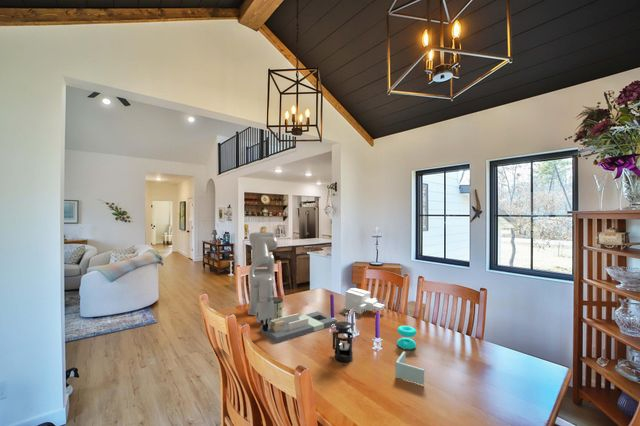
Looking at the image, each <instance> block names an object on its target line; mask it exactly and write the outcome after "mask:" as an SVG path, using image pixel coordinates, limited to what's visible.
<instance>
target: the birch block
mask: <svg viewBox="0 0 640 426" xmlns="http://www.w3.org/2000/svg"><path fill="white" fill-rule="evenodd" d="M269 324H270V329H271V330H273V331H274V332H278V331H281V330H284V321H283V320H281V319H279V318H278V319H274V320H271V321H270V323H269Z"/></svg>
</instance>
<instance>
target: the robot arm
mask: <svg viewBox="0 0 640 426" xmlns="http://www.w3.org/2000/svg"><path fill="white" fill-rule="evenodd" d="M248 241H249V243H250V246H251V266H250V267H249V271H248V272H249V273H248V277H249V289H250V290H249V306H248V307H249V309H248V310H247V314H248V315H250V316H255V318H256V323H258V324H259V323H260V324H261V326H262V329H263V331H265V332H266V331H268V324H270V323H269V322H270V321H271V320H272V319H274V313H275V312H274V302H273V298H274V297H275V295H274V294H273V292H274V291H273V284H274V280H275V279H274V277H275V275H274V273H275V257H274V255H273V254H272V253H270V250H271V251H272V250H276V249H277V248H278V239H277V236H276V235H275V233H274V232H252V233H249V236H248Z"/></svg>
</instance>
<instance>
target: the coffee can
mask: <svg viewBox="0 0 640 426" xmlns="http://www.w3.org/2000/svg"><path fill="white" fill-rule="evenodd" d="M273 302H274V312H275V313H274V319H278V318H279V319H280V318H281V317H283V311H284V310H283V302H284V300H283V298H282V297H278V296H276V297H275V296H274V298H273ZM274 319H272V320H274ZM269 324H270V322H269Z"/></svg>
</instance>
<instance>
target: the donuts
mask: <svg viewBox="0 0 640 426" xmlns="http://www.w3.org/2000/svg"><path fill="white" fill-rule="evenodd" d="M396 331H397V333H398V334H399V335H401V336H402V337H400V338H399V339H398V340H397V342H396V343H397V346H398V347H401V349H402V348H404V349H403V350H405V349H413V348H415V347H417V343H416V342H415V340H413V339H411V338H413V337H415V336H416V335H417V330H416V329H415V328H414V327H412V326H410V325H400V326H398V327H397V330H396ZM415 349H416V348H415ZM413 350H414V349H413Z"/></svg>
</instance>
